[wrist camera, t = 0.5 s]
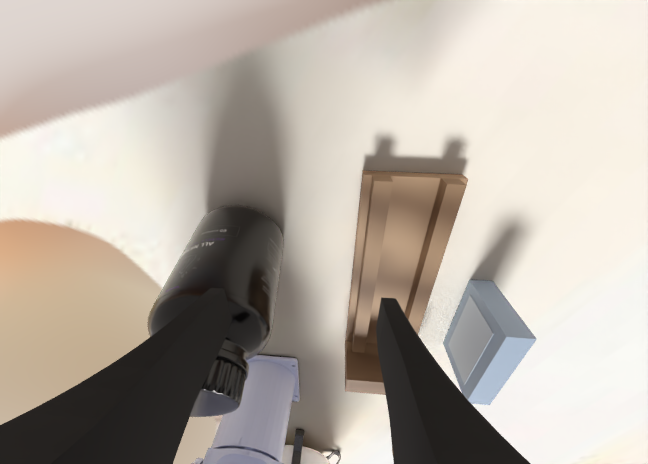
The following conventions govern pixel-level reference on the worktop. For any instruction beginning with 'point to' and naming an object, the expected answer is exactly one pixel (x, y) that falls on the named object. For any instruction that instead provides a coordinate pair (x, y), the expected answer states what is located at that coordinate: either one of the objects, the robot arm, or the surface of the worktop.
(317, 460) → the coffee press
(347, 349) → the door track
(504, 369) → the light blue flat block
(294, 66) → the worktop surface
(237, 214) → the supplement bottle
